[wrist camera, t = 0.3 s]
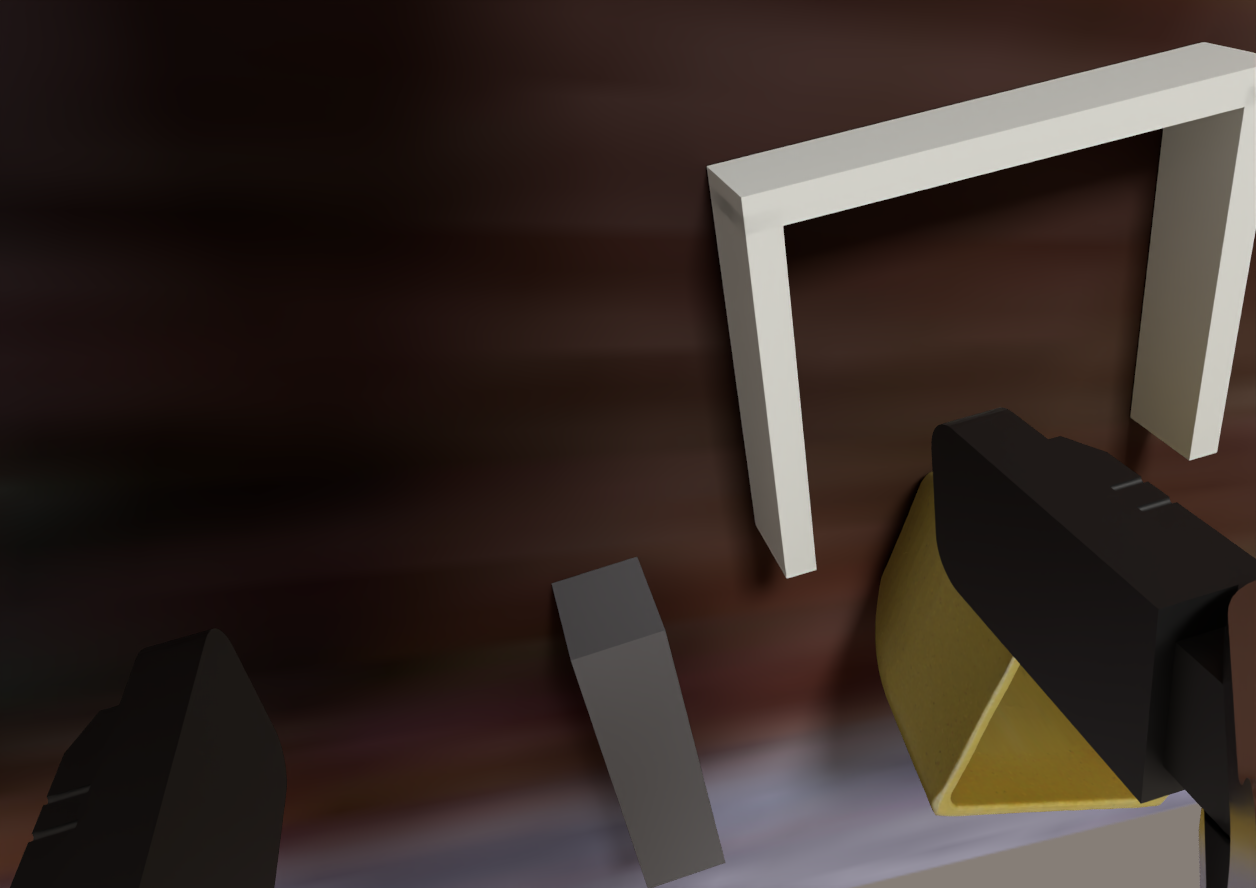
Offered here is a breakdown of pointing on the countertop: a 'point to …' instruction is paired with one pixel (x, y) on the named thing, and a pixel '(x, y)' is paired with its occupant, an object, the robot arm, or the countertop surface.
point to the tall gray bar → (639, 719)
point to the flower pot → (974, 698)
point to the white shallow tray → (979, 144)
